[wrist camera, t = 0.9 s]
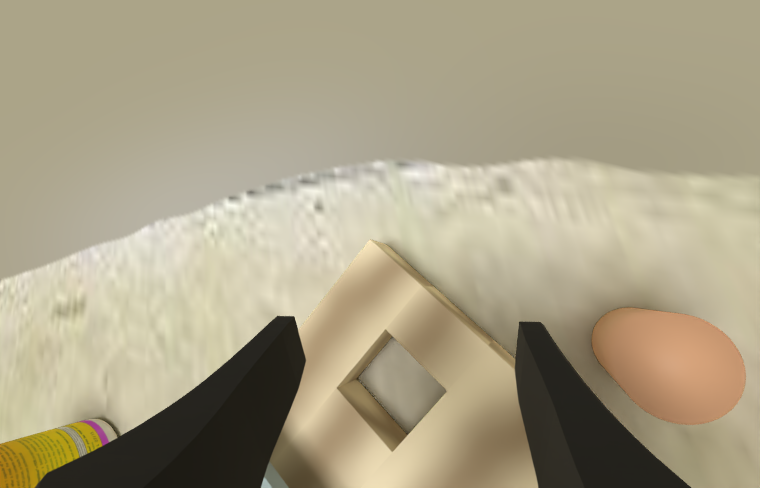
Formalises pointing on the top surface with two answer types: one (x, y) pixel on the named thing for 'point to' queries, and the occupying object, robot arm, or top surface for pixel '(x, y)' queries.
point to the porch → (367, 417)
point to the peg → (670, 363)
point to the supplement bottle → (49, 451)
